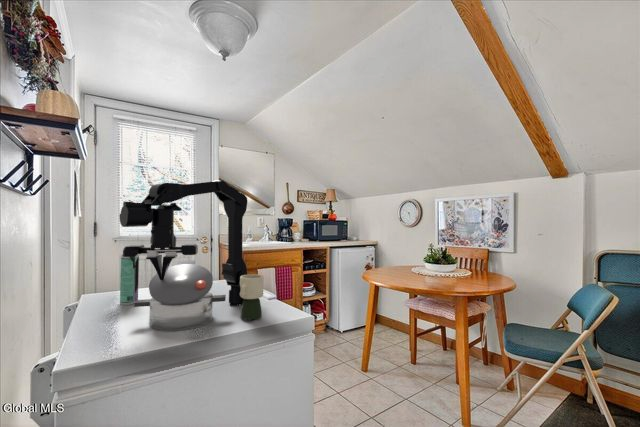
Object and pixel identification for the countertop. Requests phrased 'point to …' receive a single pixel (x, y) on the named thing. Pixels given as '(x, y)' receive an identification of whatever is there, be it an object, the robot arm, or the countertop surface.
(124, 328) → the countertop surface
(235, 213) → the robot arm
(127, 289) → the spray can
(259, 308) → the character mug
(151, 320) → the cooker pot
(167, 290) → the cooker lid
